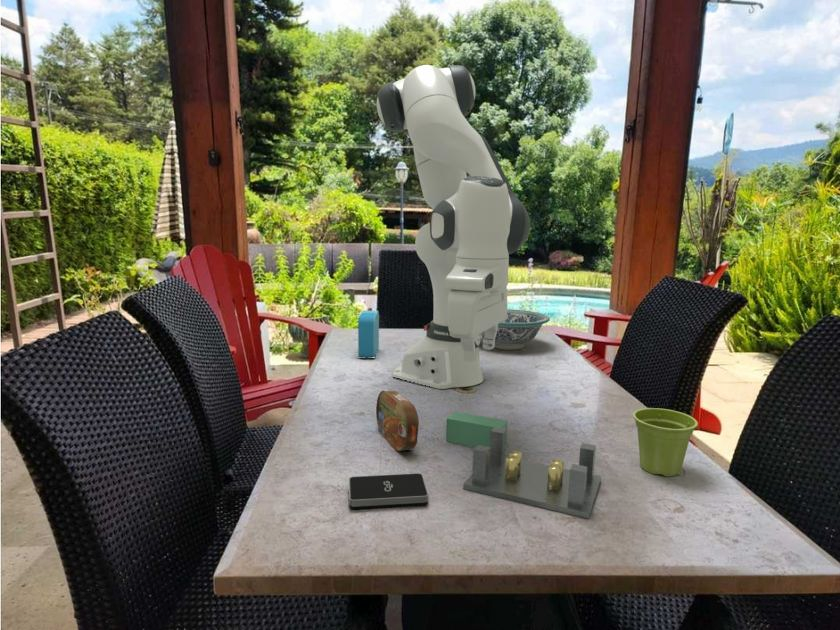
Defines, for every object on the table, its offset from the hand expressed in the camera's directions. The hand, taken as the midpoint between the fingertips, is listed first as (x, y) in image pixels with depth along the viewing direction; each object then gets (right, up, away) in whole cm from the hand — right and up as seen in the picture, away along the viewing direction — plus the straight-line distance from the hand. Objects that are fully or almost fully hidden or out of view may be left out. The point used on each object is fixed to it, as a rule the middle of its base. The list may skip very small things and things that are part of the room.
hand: (479, 354), depth 96 cm
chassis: (+7, -19, -12) cm, 23 cm away
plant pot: (+29, -18, -6) cm, 34 cm away
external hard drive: (-15, -20, -16) cm, 30 cm away
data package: (-25, -5, +64) cm, 69 cm away
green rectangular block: (0, -16, +3) cm, 16 cm away
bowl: (+17, -3, +77) cm, 79 cm away
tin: (-15, -16, +3) cm, 22 cm away
